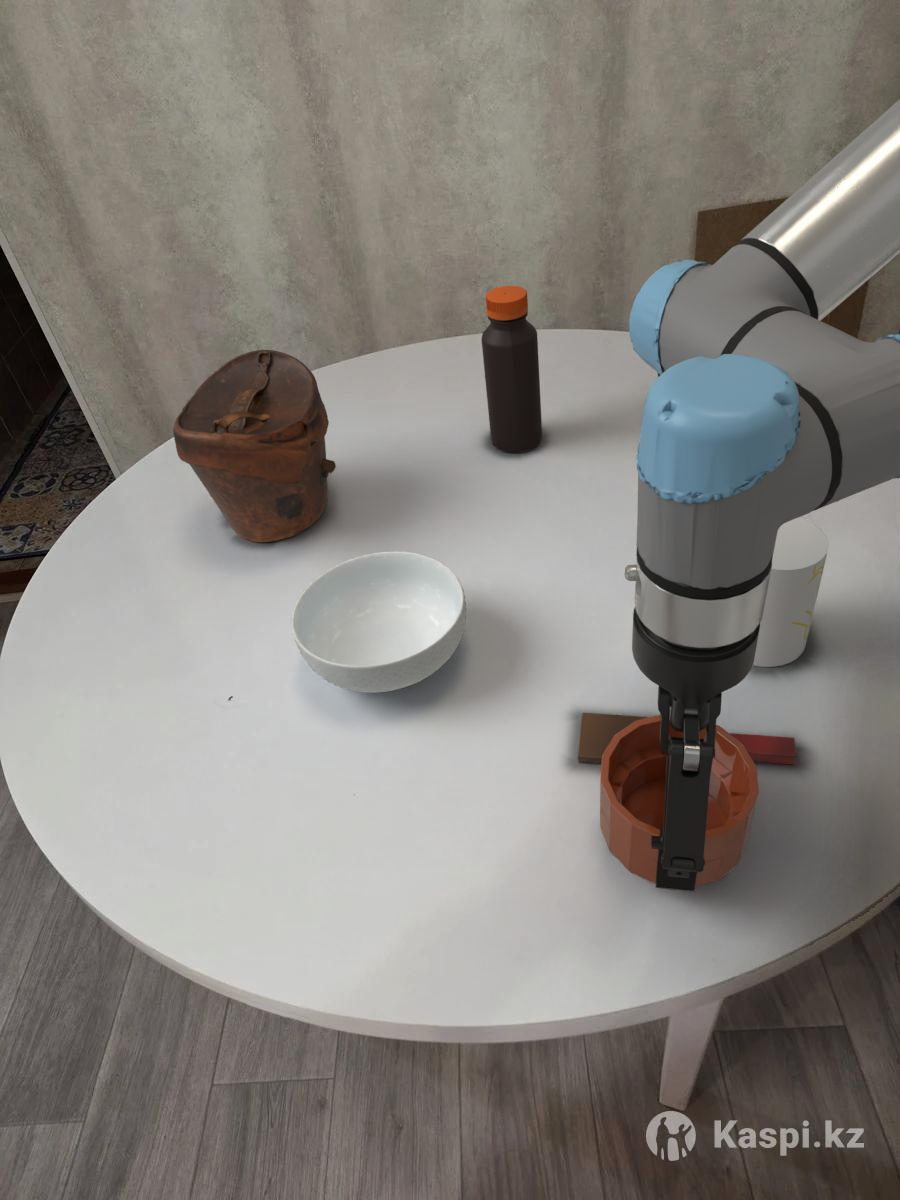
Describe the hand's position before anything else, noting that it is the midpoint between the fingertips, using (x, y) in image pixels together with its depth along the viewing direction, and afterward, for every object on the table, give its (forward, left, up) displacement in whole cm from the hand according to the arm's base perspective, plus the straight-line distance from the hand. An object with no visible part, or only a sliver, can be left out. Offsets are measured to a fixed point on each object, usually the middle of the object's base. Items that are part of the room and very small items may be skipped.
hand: (674, 814), depth 67 cm
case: (+48, -41, -3) cm, 63 cm away
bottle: (+20, -58, -3) cm, 61 cm away
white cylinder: (-8, -23, -3) cm, 25 cm away
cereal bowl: (+28, -18, -3) cm, 33 cm away
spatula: (-2, -9, -3) cm, 10 cm away
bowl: (0, 0, -2) cm, 2 cm away
